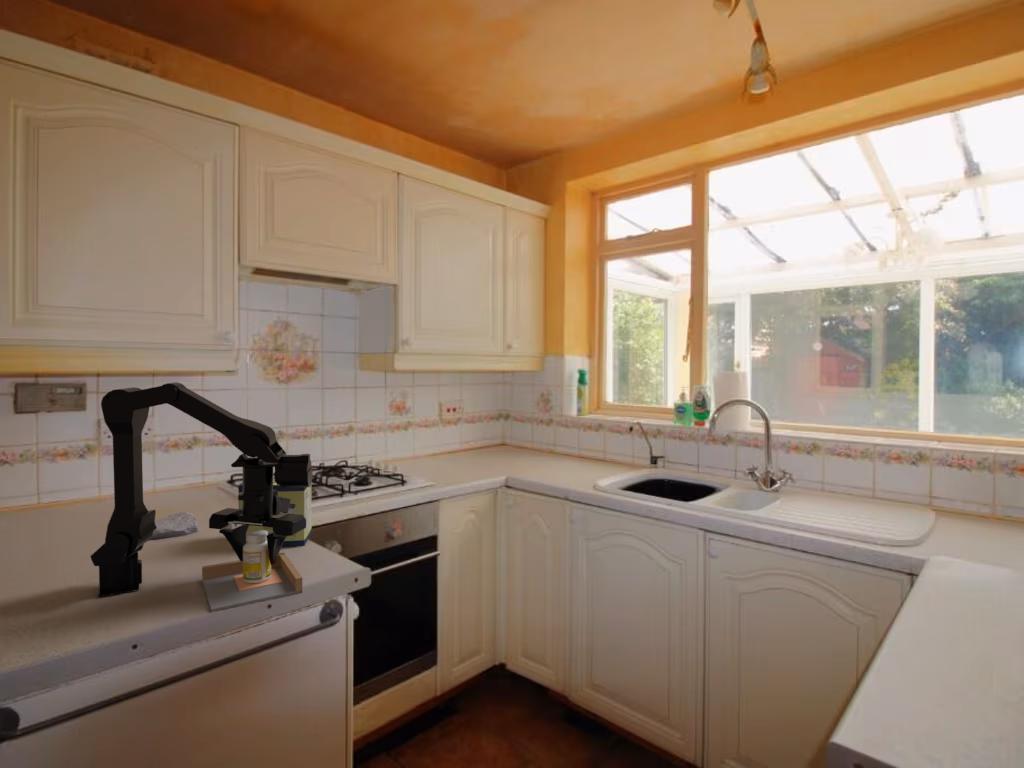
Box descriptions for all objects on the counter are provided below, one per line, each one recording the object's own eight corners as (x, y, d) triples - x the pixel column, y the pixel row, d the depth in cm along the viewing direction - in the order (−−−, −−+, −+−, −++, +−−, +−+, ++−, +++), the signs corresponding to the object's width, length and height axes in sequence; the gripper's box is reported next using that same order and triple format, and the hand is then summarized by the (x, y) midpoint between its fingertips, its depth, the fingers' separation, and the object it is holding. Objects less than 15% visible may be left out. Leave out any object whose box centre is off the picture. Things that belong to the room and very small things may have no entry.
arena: (211, 611, 101) (211, 595, 101) (202, 580, 114) (202, 566, 114) (302, 592, 110) (302, 577, 110) (284, 565, 123) (284, 552, 123)
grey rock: (202, 539, 144) (190, 522, 151) (202, 522, 143) (190, 506, 150) (148, 551, 136) (139, 533, 142) (148, 533, 134) (138, 516, 141)
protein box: (249, 534, 143) (249, 475, 142) (312, 532, 146) (312, 474, 145) (236, 549, 132) (236, 485, 131) (305, 546, 135) (305, 483, 134)
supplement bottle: (250, 586, 110) (250, 539, 110) (238, 579, 114) (237, 533, 113) (276, 578, 114) (276, 532, 114) (263, 571, 118) (263, 527, 117)
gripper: (320, 482, 119) (319, 553, 120) (243, 476, 122) (243, 545, 123) (290, 494, 108) (290, 572, 109) (206, 487, 112) (206, 563, 112)
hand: (257, 562), depth 114 cm, fingers open, 7 cm apart
